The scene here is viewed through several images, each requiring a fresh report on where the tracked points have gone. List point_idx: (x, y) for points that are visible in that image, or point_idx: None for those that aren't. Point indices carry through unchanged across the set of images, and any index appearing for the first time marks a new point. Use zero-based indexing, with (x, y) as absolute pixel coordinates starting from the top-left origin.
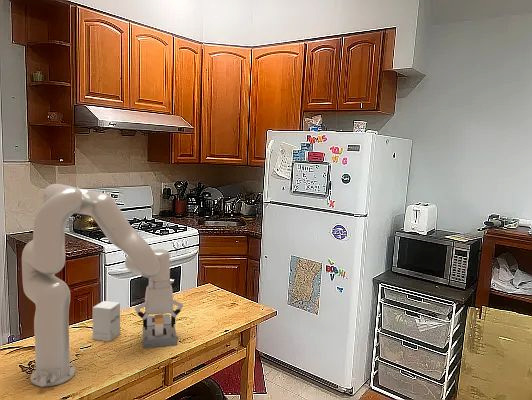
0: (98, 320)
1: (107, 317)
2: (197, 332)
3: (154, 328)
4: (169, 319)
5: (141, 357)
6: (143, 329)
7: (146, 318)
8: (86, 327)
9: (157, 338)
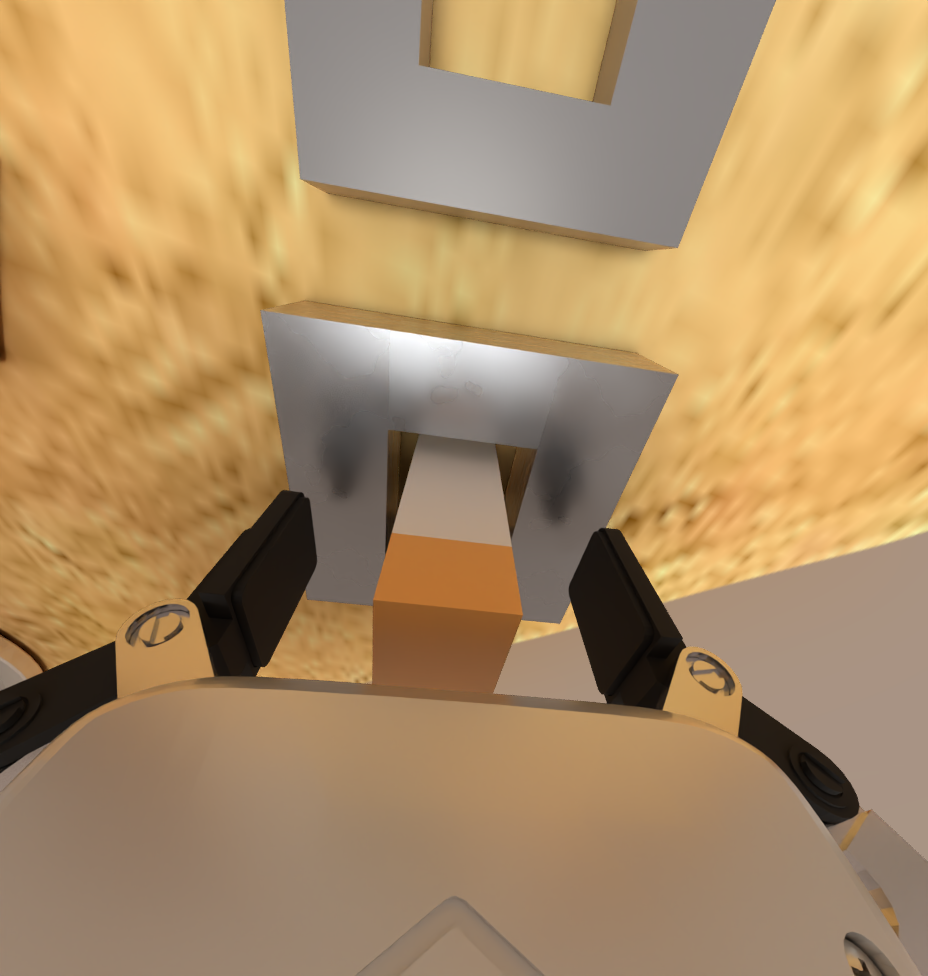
0: None
1: None
2: (801, 447)
3: (415, 416)
4: None
5: (328, 627)
6: (285, 397)
7: (244, 636)
8: None
9: None
